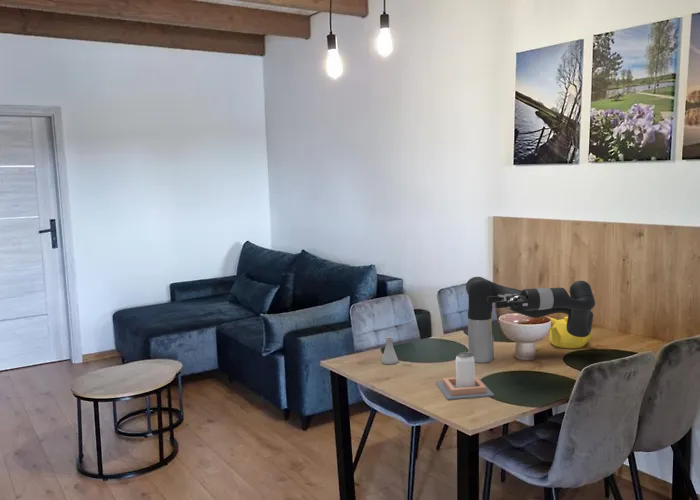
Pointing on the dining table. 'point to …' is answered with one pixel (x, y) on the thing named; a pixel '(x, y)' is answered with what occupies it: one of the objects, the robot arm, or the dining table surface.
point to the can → (465, 370)
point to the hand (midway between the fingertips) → (491, 302)
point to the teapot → (565, 335)
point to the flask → (389, 353)
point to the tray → (463, 389)
